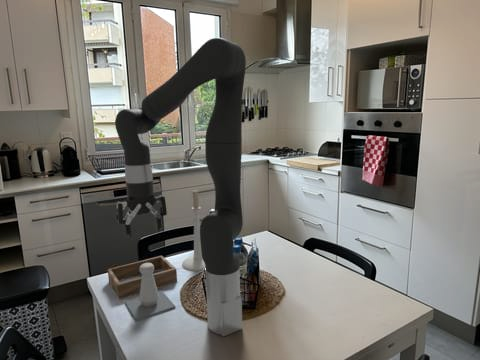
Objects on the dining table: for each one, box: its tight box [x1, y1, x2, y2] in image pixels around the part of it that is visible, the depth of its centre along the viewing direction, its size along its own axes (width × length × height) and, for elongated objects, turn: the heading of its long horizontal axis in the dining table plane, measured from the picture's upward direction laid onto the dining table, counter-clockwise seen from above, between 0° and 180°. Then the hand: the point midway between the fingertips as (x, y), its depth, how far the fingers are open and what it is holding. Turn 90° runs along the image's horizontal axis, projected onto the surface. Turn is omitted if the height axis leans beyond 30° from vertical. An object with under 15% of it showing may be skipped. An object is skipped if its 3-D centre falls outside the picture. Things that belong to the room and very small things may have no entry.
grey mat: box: [124, 289, 176, 322], centre depth 108 cm, size 12×12×1 cm
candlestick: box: [182, 189, 205, 272], centre depth 134 cm, size 13×13×30 cm
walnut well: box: [107, 255, 178, 300], centre depth 122 cm, size 14×20×5 cm
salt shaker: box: [138, 263, 159, 307], centre depth 106 cm, size 6×6×13 cm
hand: (143, 232), depth 103 cm, fingers open, 8 cm apart
